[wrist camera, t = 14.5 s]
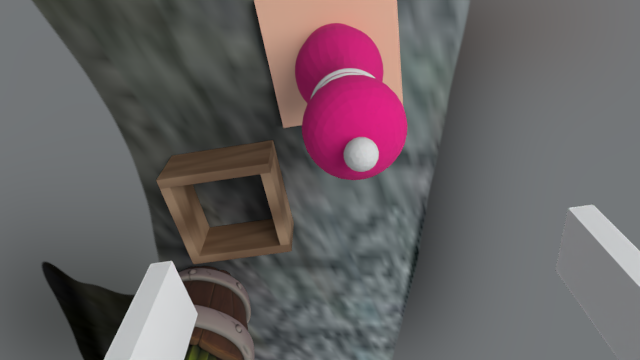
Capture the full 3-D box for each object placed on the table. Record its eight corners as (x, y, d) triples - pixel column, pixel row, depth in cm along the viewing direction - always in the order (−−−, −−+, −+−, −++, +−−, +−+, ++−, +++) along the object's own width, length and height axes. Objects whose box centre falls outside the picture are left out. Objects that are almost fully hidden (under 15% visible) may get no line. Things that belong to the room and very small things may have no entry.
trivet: (255, -2, 35) (253, 0, 34) (393, -27, 34) (395, -26, 33) (283, 124, 41) (283, 128, 40) (401, 106, 40) (403, 109, 40)
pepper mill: (339, -3, 34) (375, 56, 17) (390, 61, 37) (465, 165, 20) (279, 56, 37) (257, 160, 19) (331, 111, 39) (353, 244, 22)
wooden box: (171, 155, 43) (156, 180, 39) (272, 140, 42) (268, 163, 38) (204, 235, 49) (193, 264, 44) (293, 222, 48) (291, 251, 43)
